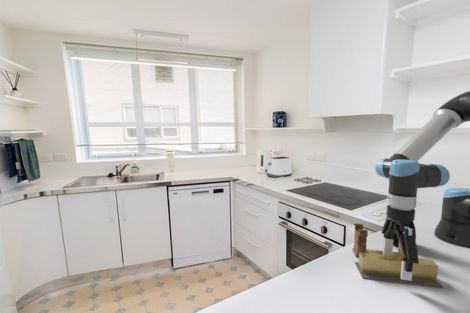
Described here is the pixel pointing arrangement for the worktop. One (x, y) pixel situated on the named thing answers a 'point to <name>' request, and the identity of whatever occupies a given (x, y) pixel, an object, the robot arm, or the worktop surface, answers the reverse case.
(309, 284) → the worktop surface
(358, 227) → the rack
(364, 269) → the rail
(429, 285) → the mat
